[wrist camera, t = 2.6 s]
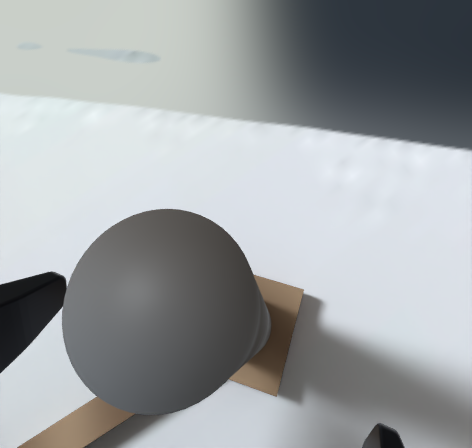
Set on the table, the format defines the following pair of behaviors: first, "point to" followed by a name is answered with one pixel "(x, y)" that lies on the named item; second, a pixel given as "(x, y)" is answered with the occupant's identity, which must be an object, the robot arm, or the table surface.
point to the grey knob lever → (167, 323)
